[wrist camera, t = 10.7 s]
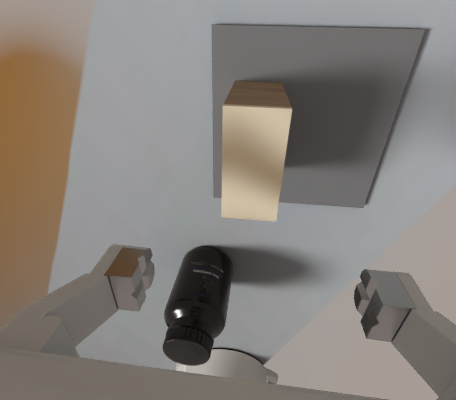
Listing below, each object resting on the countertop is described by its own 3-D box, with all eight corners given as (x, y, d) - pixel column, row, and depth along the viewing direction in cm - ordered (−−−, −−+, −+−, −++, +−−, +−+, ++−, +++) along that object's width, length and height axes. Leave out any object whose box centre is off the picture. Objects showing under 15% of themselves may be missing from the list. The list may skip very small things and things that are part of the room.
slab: (271, 167, 27) (275, 221, 20) (232, 165, 28) (221, 217, 20) (281, 82, 23) (292, 109, 15) (235, 80, 23) (222, 105, 16)
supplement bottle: (221, 239, 34) (204, 328, 24) (240, 276, 37) (233, 368, 27) (173, 251, 36) (139, 338, 26) (196, 285, 39) (173, 374, 29)
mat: (361, 204, 29) (363, 208, 29) (214, 194, 30) (213, 197, 30) (421, 29, 21) (425, 29, 20) (212, 24, 22) (211, 24, 21)
